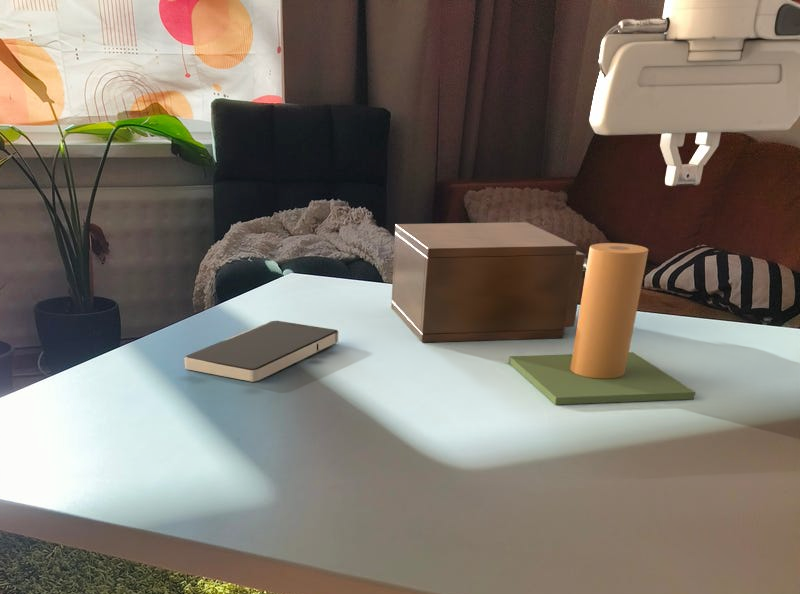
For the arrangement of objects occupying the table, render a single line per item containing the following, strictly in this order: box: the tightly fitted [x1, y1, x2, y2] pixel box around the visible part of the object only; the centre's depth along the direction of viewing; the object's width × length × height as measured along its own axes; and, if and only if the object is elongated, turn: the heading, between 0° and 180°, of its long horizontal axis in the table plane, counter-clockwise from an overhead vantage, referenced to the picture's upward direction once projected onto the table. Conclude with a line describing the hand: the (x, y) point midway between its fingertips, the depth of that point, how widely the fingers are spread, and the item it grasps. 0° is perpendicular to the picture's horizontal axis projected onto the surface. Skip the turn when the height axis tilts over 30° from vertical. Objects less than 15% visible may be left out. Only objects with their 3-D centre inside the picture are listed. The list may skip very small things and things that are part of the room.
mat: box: [508, 351, 696, 406], centre depth 78 cm, size 12×12×1 cm
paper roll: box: [570, 242, 649, 379], centre depth 75 cm, size 5×5×10 cm
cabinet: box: [390, 221, 578, 343], centre depth 92 cm, size 15×15×9 cm
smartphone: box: [183, 320, 339, 383], centre depth 83 cm, size 8×1×15 cm
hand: (681, 185), depth 90 cm, fingers closed
